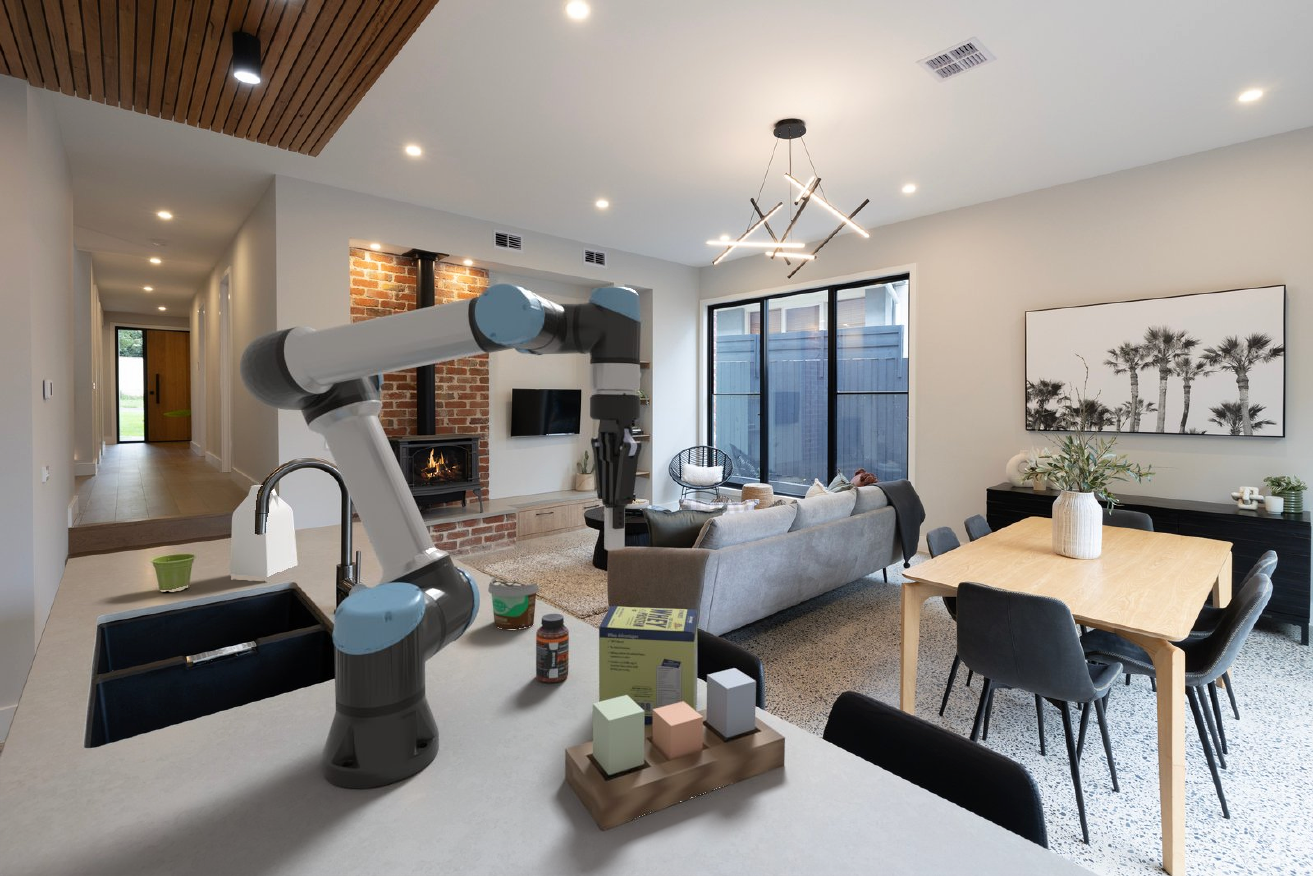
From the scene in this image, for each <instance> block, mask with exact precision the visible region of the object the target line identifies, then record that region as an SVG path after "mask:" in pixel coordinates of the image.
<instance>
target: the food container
mask: <svg viewBox="0 0 1313 876" xmlns="http://www.w3.org/2000/svg"><path fill="white" fill-rule="evenodd" d="M539 591H540V589H539V585H538V583H537V582H534V583H531V584H523V583H522V582H521V583H520V582H517V581H498V580H497V577H496V576H494V577H493V578H491V579H490V581H489V585H488V590H487V592H488V593H489V594H491V603H492V610H493V611H492V612H493V621H494V623H493V624H494V626H495V625H496V627H495V628H497V627H499V628H502V629H519V628H524V627H529V626H531V627H533V626H534V625H533V624H534V622H535V614H536V613H535V610H536V603H537V602H536V600H537V593H538V592H539ZM532 625H533V626H532ZM499 628H498V629H499ZM529 628H530V627H529ZM502 629H501V630H502Z"/></svg>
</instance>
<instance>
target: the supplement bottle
mask: <svg viewBox="0 0 1313 876" xmlns="http://www.w3.org/2000/svg"><path fill="white" fill-rule="evenodd" d="M564 619H565V618H564V616H563V614H560V613H547V614H544V615H542V616H541V621H540V624H541V626H540V627H538V628H537V630H536V636H535V637H536V639H535V640H536V641H535V645H536V646H535V655H536V656H535V673H536V674H535V677H536V679H537V680H539V681H540V682H543V683H547V684H548V683H549V684H552V683H558V682H562V681H563V680H565V679H567V678H568V676H569V663H570V661H569V660H570V659H569V652H570V650H569V647H570V646H569V645H570V643H569V641H570V640H569V639H570V633H569V629H568V627H567V626H565V624H564V623H565V622H564Z"/></svg>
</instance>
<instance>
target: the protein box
mask: <svg viewBox="0 0 1313 876" xmlns="http://www.w3.org/2000/svg"><path fill="white" fill-rule="evenodd" d="M624 695H628V696H629V697H630V698H631V699H632V700H633V701H634V702H635V703H636V704H637V705H638V706H640V707H641V708H642V709H643V710H644V711H645V713H644V726H647V725H651V724H653V709H656V708H660V707H664V706H667V705H671V704H675V703H678V702H682V701H684V702H685V703H686V704H688V705H689V706H690V707H691V708H693V709H694V710H695V711H696V712H697V701H698V610H697V609H693V608H692V609H691V608H690V609H686V608H664V607H663V608H661V607H660V608H657V607H633V606H632V607H631V606H617V605H616V606H615V605H614V606H610V607H609V608H608V610H607V612H606V613H605V616H604V617H603V619H602V621H601V622H600V625H599V626H598V700H599V701H598V702H601V701H605V700H609V699H613V698H617V697H620V696H624Z"/></svg>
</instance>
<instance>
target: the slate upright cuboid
mask: <svg viewBox="0 0 1313 876" xmlns="http://www.w3.org/2000/svg"><path fill="white" fill-rule="evenodd" d="M756 693H757V681H756V679H753V678H752V677H750V676H749V675H747V674H745V673H744V672H742V670H741V671H740V670H739V669H737V668H735V667H733V668H729V669H725V670H721V671H717V672H713V673H710V674H709V673H708V674H706V709H707V716H706V722H707V723H709V724H710V725H711V726H712V727H714V728H715V729H716V730H717V731H719V732H720V733H721V734H722V735H724V736H725V737H726V738H728V737H731V736H734V735H737V734H741V733H744V732H747V731H750V730H753V729H755V717H756V701H757V700H756V699H757V697H756V696H757V694H756Z"/></svg>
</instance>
